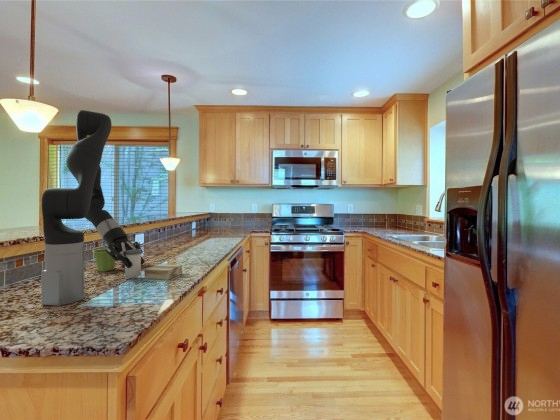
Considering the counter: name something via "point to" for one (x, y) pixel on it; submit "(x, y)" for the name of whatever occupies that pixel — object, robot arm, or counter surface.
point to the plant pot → (103, 260)
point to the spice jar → (135, 258)
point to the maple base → (163, 271)
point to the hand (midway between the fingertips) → (136, 265)
